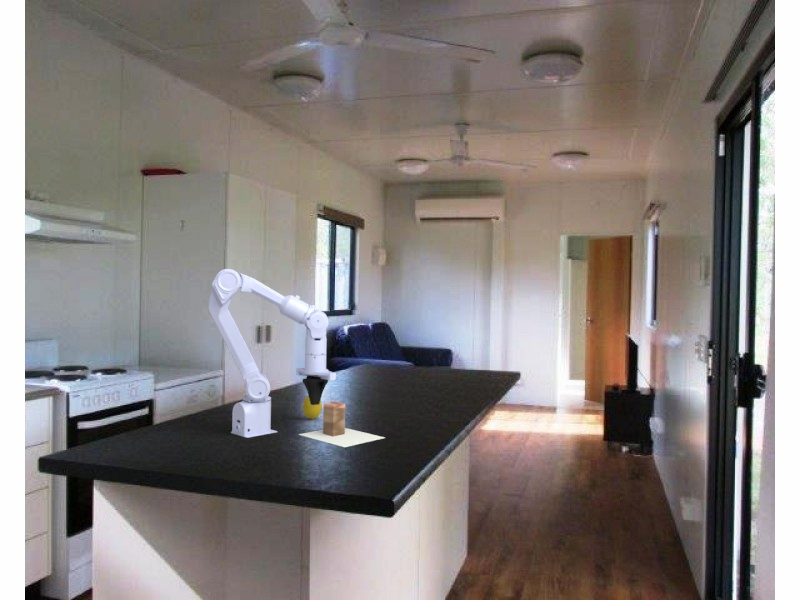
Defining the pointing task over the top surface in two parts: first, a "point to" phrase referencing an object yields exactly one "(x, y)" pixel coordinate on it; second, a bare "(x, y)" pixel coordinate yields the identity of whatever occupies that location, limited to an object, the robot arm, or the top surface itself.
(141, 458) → the top surface
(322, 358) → the robot arm
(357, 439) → the mat
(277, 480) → the top surface
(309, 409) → the lemon
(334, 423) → the walnut block
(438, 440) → the top surface
